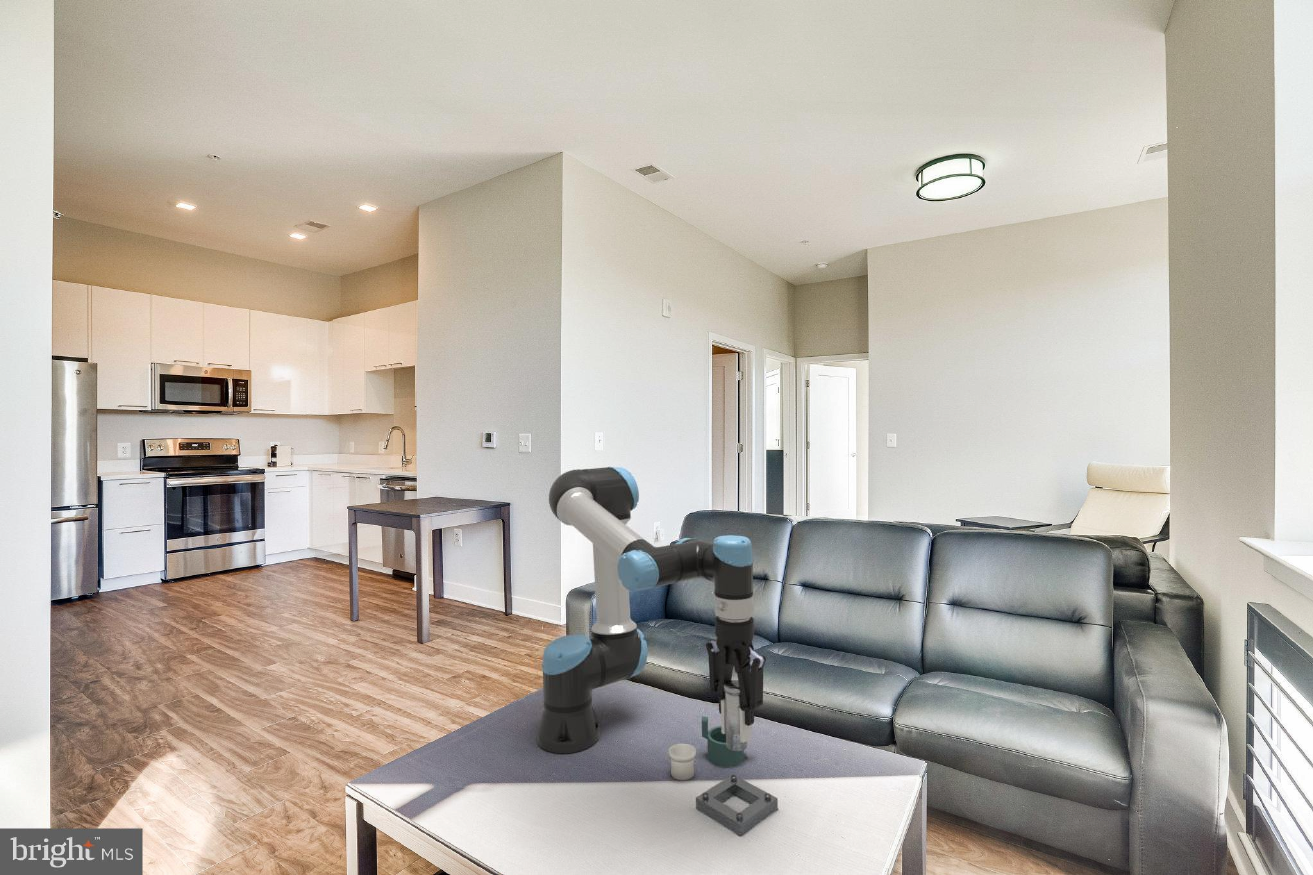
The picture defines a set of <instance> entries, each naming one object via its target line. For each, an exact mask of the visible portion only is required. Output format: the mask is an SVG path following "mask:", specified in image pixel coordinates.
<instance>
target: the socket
mask: <svg viewBox="0 0 1313 875" xmlns="http://www.w3.org/2000/svg"><path fill="white" fill-rule="evenodd" d="M734 796H737V797H738V798H741V799H742V800H744V801H746V802H747V803H749V805H748V806H746V807H745V808H744V809H742V810H740V811H736V810H735V809H733V808H732V807H730V806H728V805H727V804H725V803H724V802H725V801H727V800H729V799H730V798H732V797H734ZM778 801H779V800H778V797H776V796H774V795H773V794H771V793H769V792H767V791H765V790H763V789H761V788H760V787H758V786H756V785H755V784H752V783H750V782H748V781H747V780H745V779H743V778H741V777H739V776H737V775H735V774H731V775H730V776H728V777H726V778H725V779H723V780H722V781H720V782H719V783H717V784H715V785H713V786H712V787H711V788H708V789H707V790H706V791H704V792H702V793H701V794H699V795H697V796H695V808H696V810H698V811H700V812H701V813H703V814H704V815H706V816H707V817H709V818H711V819H712V820H714V821H715V822H717V823H719V824H720V825H722V826H723V827H725V828H727V829H728V830H730V831H731V832H733V833H734V834H736V835H738V836H739V837H742V836H743V835H744V834H747V833H748V832H749V831H750V830H752V829H753V828H755V826H757V825H758V824H760V823H761V822H762V821H764V820H765V819H767V817H770V815H772V814H773V813H774V812H776V811H777V810H778V808H779V806H778V805H779V804H778V803H779V802H778Z"/></svg>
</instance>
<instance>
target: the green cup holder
mask: <svg viewBox="0 0 1313 875" xmlns="http://www.w3.org/2000/svg"><path fill="white" fill-rule="evenodd" d="M701 737H702V738H703V739H705V740H707V759H708V761H709V762H710V763H711V764H713V765H715V766H717V767H721V768H733V767H737V766H740V765H741V764H743V762H744V760H745V750H742V751H732V750H730V749H728V748H727V746H726V734H722V729H721V725H719V726H713V727H712V728H710V729H709V717H708V716H701Z"/></svg>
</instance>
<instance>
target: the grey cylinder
mask: <svg viewBox="0 0 1313 875" xmlns="http://www.w3.org/2000/svg"><path fill="white" fill-rule="evenodd" d="M724 692H725V706H726V746H727V748H728V749H730V750H732V751H742V750H744V751H745V750H746V749H747V748H748V741H746V742H744V743H742V742H740V720H739V708H740V707H742V706H743V705H742V699H741V693H740V687H739V682H738V679H731V680H730V681H728V682H726V683H724Z"/></svg>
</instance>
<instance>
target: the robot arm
mask: <svg viewBox="0 0 1313 875" xmlns="http://www.w3.org/2000/svg"><path fill="white" fill-rule="evenodd" d="M639 500H640V491H639V486H638V484H637V481H636V479H635V477H634V476H633V474H632V473H631V472H630V471H629V470H628V469H626V468H624V467H621V466H620V467H619V466H616V467H615V466H607V467H606V466H605V467H596V468H594V467H593V468H583V469H581V468H580V469H572V470H569V471H565V472H563V473H562V474H560V475H559V476H558V477H557V478H556V479H555V480H554V482H553V483H552V485H551V487H550V489H549V492H548V504H549V507H550V510H551V512H552V514H553V515H554V516H555V518H557V520H558V521H560V522H561V523H563V524H564V525H566V526H571V527H574V529H576V530H577V531H578V532H579V533H580V534H582V535H583V536H584V537H585V538H586V539H587V540H588V541H589V542H591V543H592V551H593V552H592V555H593V556H592V557H593V571H594V572H593V575H594V592H595V593H594V594H595V611H596V621H595V623H594V624H593V625H592V626H591V629H590V630H591V637H590V638H589V636H587V635H585V634H580V633H579V634H578V633H577V634H573V635H572V634H568V635H564V636H560V637H557V638H555V639H554V640H552V641H551V642H549V643H548V644H547V645H546V646H545V648H544V650H543V653H542V664H541V670H542V685H543V686H542V687H543V689H542V690H543V691H542V692H543V709H542V712H541V716H540V719H539V723H538V726H537V729H536V741H537V742H536V743H537V745H538V747H540V748H541V749H542V750H545V751H547V752H549V753H554V754H555V753H556V754H570V753H571V754H572V753H577V752H581V751H584V750H587V749H589V748H590V747H592V746H594V745H595V744H596V743H597V742H598V741H599V739H600V736H601V726H600V722H599V719H598V717H597V713H596V711H595V708H594V705H593V690H594V689H598V688H601V687H605V686H607V685H611V684H614V683H617V682H621V681H626V680H629V679H630V678H632V677H635V676H638V675H639V674H641V672H642V671H643V670H644V668H645V666H646V665H647V660H648V651H649V650H648V644H647V640H645V638H646V637H645V635H644V634H643V632H642V631H641V630H640V629H639V628H638V626H637V623H636V622H635V621H633V620H632V619H631V607H630V605H631V604H630V592H636V591H648V590H651V589H654V588H658V587H662V586H667V585H671V584H676V583H681V582H686V581H691V580H696V579H701V580H702V579H703V580H706V581H708V582H709V581H710V582H713V586H714V592H713V593H714V615H715V616H716V617H714V633H715V637H716V639H714V640H711V641H709V642H706V643H705V648H706V652H707V656H708V673H709V674H708V676H709V690H710V692H711V693H712V694H715V695H716V696H717V699H718V713H719V714H720V716H721V717H720V718H721V720H720V721H721V723H720V724H721V725H720V726H721V729H722V734H726V706H725V692H724V683H726V682H728V681H730V680H733V679H732V677H733V673H734V672H735V673H736V675H737V680H738V682H739V687H740V693H741V699H742V705H743V706H742V707H740V708H739V720H740V742H742V743H744V742H746V741H747V742H748V741H749V740H751V739H752V738H753V733H752V732H753V730H752V729H753V727H752V725H753V724H754V723H755V710H756V709H758V708H759V707H760V706H763V704H764V667H765V664H766V662H767V657H766V656H765V655H760V654H758V653H757V652H756V651H755V646H754V644H753V639H754V635H755V623H754V622H755V621H754V620H755V618H754V617H753V616H754V615H755V608H754V606H755V605H754V577H753V576H754V567H753V566H754V564H753V563H754V555H753V545H752V541H751V540H750V538H748V537H747V536H743V535H733V534H731V535H726V534H725V535H720V536H717V537H715V538H714V539H713V542H710V541H706V540H702V539H699V538H696V537H693V538H689V537H684V538H681V539H680V540H678V541H677V542H675V543H674V544H667V545H662V546H655V545H653V544H651V543H650V542H649V541H647V540H646V539H645V538H644V537H642V536H641V535H640V534H638V533H637V532H636V531H634V530H633V529H632V528H631V527H629V526H628V525H627V524H628V522H630V520H631V518H632V517H631V511H633V510H635V509H636V507H638V503H639ZM733 671H734V672H733Z"/></svg>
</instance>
